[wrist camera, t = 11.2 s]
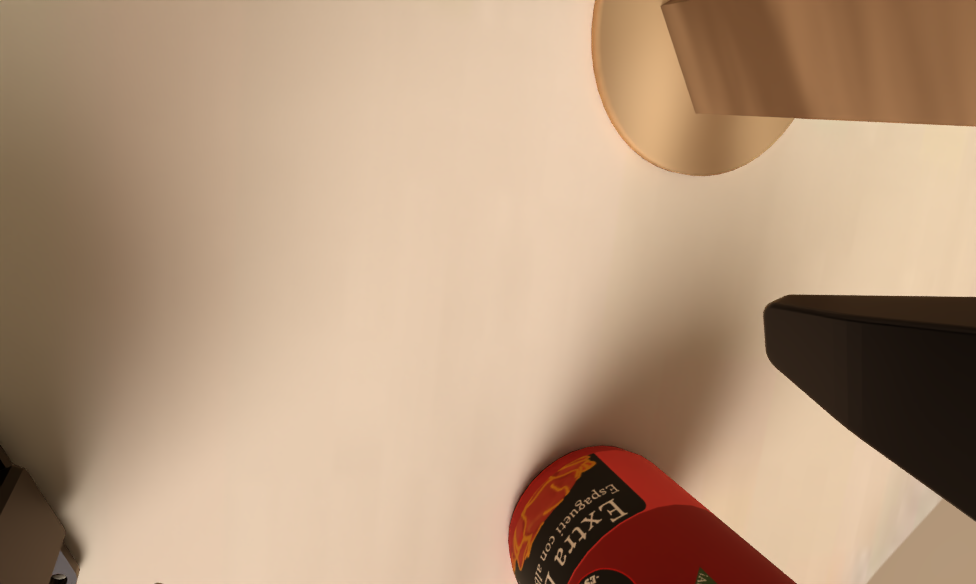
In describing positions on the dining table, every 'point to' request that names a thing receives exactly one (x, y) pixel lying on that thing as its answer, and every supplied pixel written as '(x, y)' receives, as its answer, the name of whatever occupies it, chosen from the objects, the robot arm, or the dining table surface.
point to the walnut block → (829, 58)
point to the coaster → (665, 97)
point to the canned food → (624, 528)
